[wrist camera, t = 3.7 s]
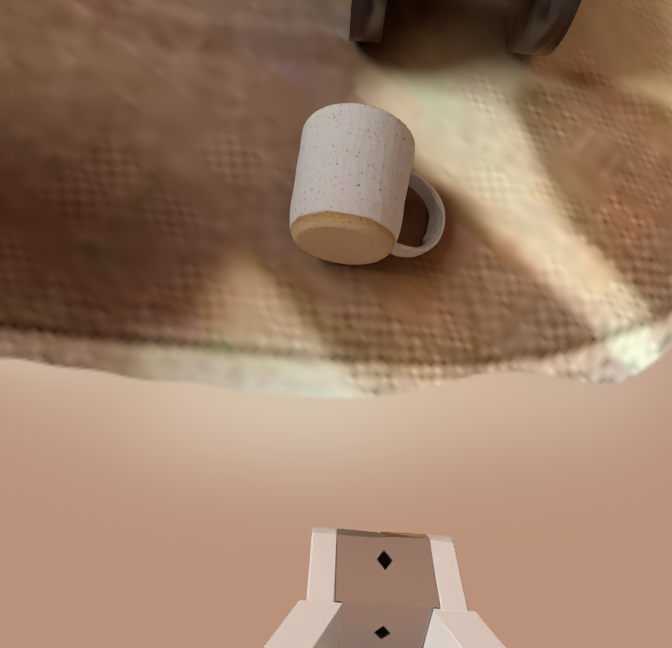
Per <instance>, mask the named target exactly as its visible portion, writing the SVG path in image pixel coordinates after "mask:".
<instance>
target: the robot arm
mask: <svg viewBox="0 0 672 648" xmlns="http://www.w3.org/2000/svg"><path fill="white" fill-rule="evenodd" d="M307 590H308V591H307V600H299V601H298V603H297V604H296V605H295V607H294V608H293V609H292V611H291V612H290V613H289V615H288V616H287V617H286V619H285V620H284V621H283V622H282V624H281V625H280V627H279V628H278V629H277V631H276V632H275V633H274V634H273V636H272V637H271V638H270V640H269V641H268V642H267V644H266V645H265V646H264V648H506V647H505V646H504V645H503V644H502V642H501V641H500V640H499V639H498V638H497V636H496V635H495V634H494V633H493V632H492V630H491V629H490V628H489V627H488V626H487V625H486V623H485V622H484V621H483V620H482V618H481V617H480V616H479V615H478V614H477V612H475V611H469V610H468V607H467V602H466V597H465V592H464V588H463V583H462V578H461V574H460V569H459V564H458V560H457V556H456V551H455V546H454V542H453V540H452V538H451V537H450V536H436V535H426V534H412V533H392V532H381V533H377V532H366V531H356V530H345V529H337V530H336V529H333V528H321V527H313V532H312V541H311V554H310V565H309V577H308V589H307Z"/></svg>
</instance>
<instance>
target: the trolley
mask: <svg viewBox="0 0 672 648" xmlns="http://www.w3.org/2000/svg"><path fill="white" fill-rule="evenodd" d="M580 2H581V0H508V4H507V13H506V42H507V46H508V49H509V51H510V52H511V53H516V54H529V55H542V56H545V55H548V54H550V53H551V52H552V51H553V50H555V48H556V47H557V46H558V45H559V43H560V42H561V41H562V39H563V38H564V36H565V34H566V33H567V31H568V29H569V27H570V25H571V23H572V21H573V19H574V17H575V14H576V12H577V10H578V7H579V5H580ZM386 4H387V0H352V6H351V22H350V37H349V41H360V42H373V43H380V41H381V37H382V32H383V26H384V19H385V12H386Z"/></svg>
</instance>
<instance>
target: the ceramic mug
mask: <svg viewBox="0 0 672 648" xmlns="http://www.w3.org/2000/svg"><path fill="white" fill-rule="evenodd" d="M414 151H415V142H414V139H413V136H412V134H411V132H410V130H409V129H408V128H407V126H406V125H405V124H404V123H403V122H401V121H400V120H399V119H398V118H396V117H395V116H393V115H392V114H390V113H388V112H386V111H384V110H382V109H379V108H376V107H373V106H368V105H365V104H358V103H342V104H333V105H330V106H326V107H324V108H322V109H320V110H318V111H316V112H315V113H314V114H313V115H311V116H310V117H309V119H308V120H307V121H306V123H305V125H304V128H303V131H302V138H301V145H300V151H299V156H298V162H297V169H296V176H295V183H294V189H293V194H292V200H291V206H290V232H291V236H292V238H293V240H294V241H295V243H296V244H297V245H298V246H299V247H300V248H301V249H302V250H304V251H305V252H307V253H309V254H310V255H312V256H314V257H317V258H319V259H322V260H326V261H330V262H334V263H341V264H351V265H361V264H369V263H374V262H377V261H379V260H381V259H383V258H385V257H386V256H388V255H389V254H390V253H391V254H393V255H395V256H398V257H415V256H418V255H421V254H423V253H425V252H427V251H429V250H430V249H432V248H433V247H434V246H435V245H436V244H437V243H438V242H439V240H440V238H441V236H442V234H443V231H444V226H445V209H444V205H443V202H442V200H441V198H440V196H439V194H438V193H437V191H436V190H435V189H434V187H433V186H432V185H431V184H430V183H429V182H428V181H427V180H426V179H425V178H424V177H423V176H421V175H420V174H419V173H417V172H415V171H414V170H412V164H413V159H414ZM408 187H410V188H412V190H414V191H415V192H416V193H417V194H418V195H419V196H420V197H421V199H422V200H423V201H424V203H425V205H426V207H427V209H428V212H429V213H428V214H429V222H428V226H427V231H426V234H425V236H424V237H423V245H422V246H420V247H411V246H406V245H404V244H399V243H398V242H397V239H398V237H399V233H400V230H401V225H402V220H403V214H404V204H405V199H406V194H407V189H408Z"/></svg>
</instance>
